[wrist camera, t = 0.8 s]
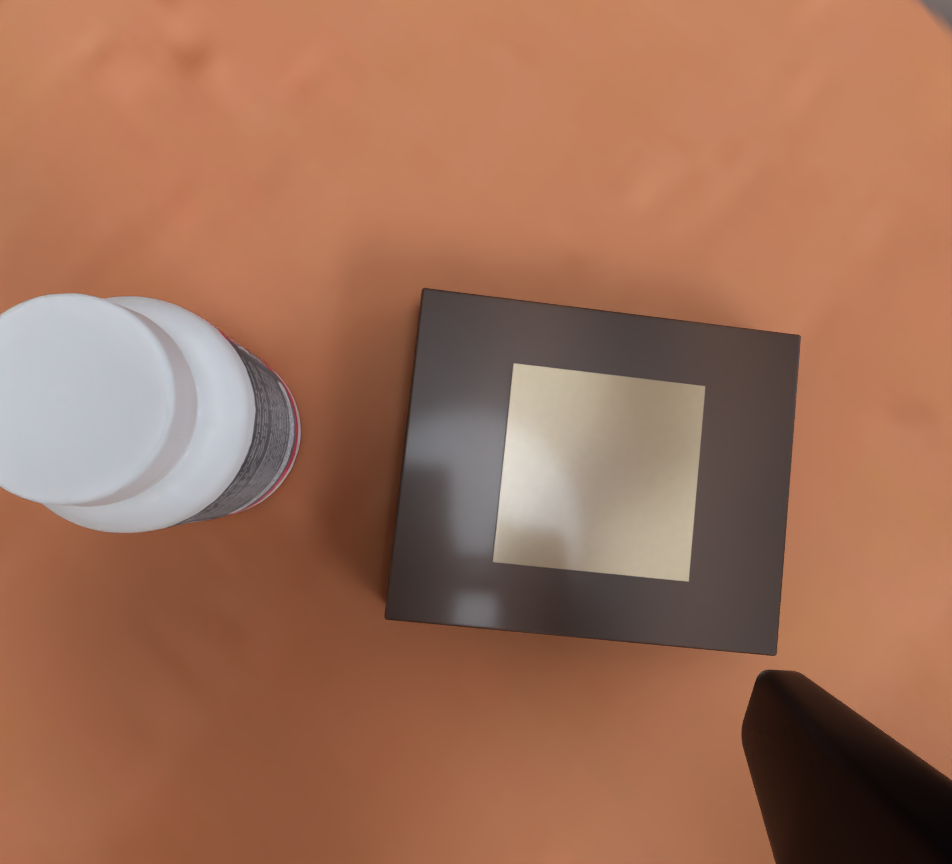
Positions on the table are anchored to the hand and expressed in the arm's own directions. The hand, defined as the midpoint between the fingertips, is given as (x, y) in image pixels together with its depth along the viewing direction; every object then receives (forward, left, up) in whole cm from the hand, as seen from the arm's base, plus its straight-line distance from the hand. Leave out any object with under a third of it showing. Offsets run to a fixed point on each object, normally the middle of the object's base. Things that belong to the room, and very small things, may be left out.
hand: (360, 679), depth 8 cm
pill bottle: (-2, +7, -15) cm, 17 cm away
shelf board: (+6, -2, -15) cm, 16 cm away
